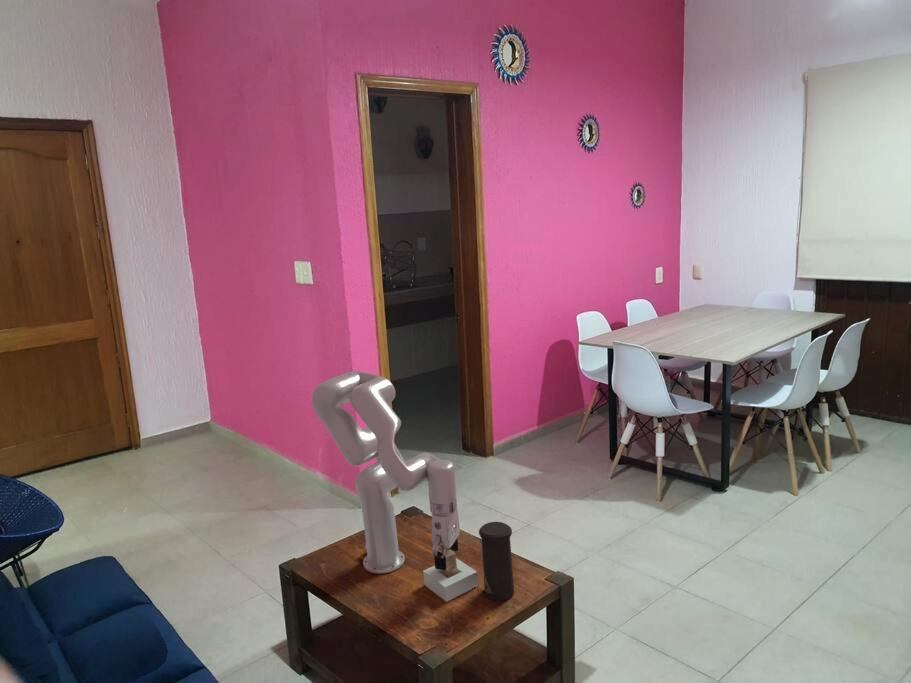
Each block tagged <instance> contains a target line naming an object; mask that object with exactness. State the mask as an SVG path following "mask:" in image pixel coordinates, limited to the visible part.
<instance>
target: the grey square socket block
mask: <svg viewBox="0 0 911 683" xmlns="http://www.w3.org/2000/svg"><path fill="white" fill-rule="evenodd" d="M456 563H457V574H456V575H454V576H452V577H450V578H446V577H445V576H444V575H443V570H440V569H436V568H435V565H433V566H431V567H430V566H429V567H428V568H427V569H424V570H422V573H423V583H424V584H423V585H424V586H425V587H426V588H428V589H429V590H430V591H431V592H433V593H434V594H435V595H436V596H438V597H440V598H441V599H442V600H443V601H445V602H446V603H447V602H449V601H451V600H454V599H455V598H457V597H459V596H461V595H463V594H465V593H467V592H469V591H471V590H473V589H475V588H477V587H478V586H479V582H478V581H479V579H478V578H479V577H478V571H476V570H475V569H474V568H472V567H471V566H469V565H468V564H467V563H464V562H463V561H461V560H460V559H459V558H457V557H456ZM474 587H475V588H474ZM472 588H473V589H472Z"/></svg>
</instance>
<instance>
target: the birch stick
mask: <svg viewBox="0 0 911 683" xmlns="http://www.w3.org/2000/svg"><path fill="white" fill-rule="evenodd" d="M444 556H446V570H443V575H444V576H445V577H446V578H450V577H452V576H454V575H456V574H457V563H456V558H457V554H456V553H455V551H452V550H451V549H449V550H448V549H446V550H445V555H444Z"/></svg>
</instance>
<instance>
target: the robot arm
mask: <svg viewBox="0 0 911 683" xmlns="http://www.w3.org/2000/svg"><path fill="white" fill-rule="evenodd" d="M395 397H396V389H395V386H394V384H393V383H392V382H391V381H390V380H389V379H388V378H386V377H384V376H381V375H379V374H378V375H377V374H374V373H373V374H372V373H369V372H364V371H360V370H352V371H349V372H346V373H343V374H340V375H338V376H335V377H332V378H329V379H327V380H325V381H323V382H321V383H320V384H319V385H317V386H316V387H315V388H314V390H313V392H312V394H311V404H312V405H311V406H312V409H313V410H314V411H313V412H314V413H315V415H316V417H318V419H319V420H320V421H321V423H322V424H323V425H324V427H325V428H326V429H327V430H328V432H329V434H330V435H331V438H332V439H333V440H334V443H335V444H336V446H337V447H338V449H339V451H340V453H341V455H342V456H343V458H344V460H345V461H346V463H347V464H349V466H352V467H360V466H362V465H364V464H366V463H368V462H370V461H372V460H374V459H375V460H376V462H373V464H370V465H369V466H367V467H365V468H364V469H362V470H361V471H360V472H359V473H358V475H356V478H355V482H354V485H355V489H356V493H357V496H358V498H359V502H360V507H361V513H362V521H363V528H364V536H365V545H364V547H365V548H366V552H367V555H366V556H365V557H364V559H363V563H362V564H363V568H364V569H365V571H367V572H369V573H373V574H387V573H391V572H393V571H397V570H398V569H399V568H401V567H402V566H403V565H404V564H405V557H406V556H405V554H404V553H403V552H402V551H401V550H399V542H398V533H397V524H396V514H395V508H394V507H395V506H394V505H393V503H392V501H391V500H390V498H388V493H390V492H392V490H395V489H396V488H398V489H400V490H401V491H403V492H410V491H413V490H414V489H416V488H418V487H419V486H420V485H422V484H424V483H425V482H427V483H428V484H427V486H428V499H429V500H428V502H429V512H430V513H431V538H432V539H431V540H432V548H431V551H432V555H433V558H434V566H435V568H436V569H440V570H446V556H444V555H445V551H446V550H449V549H451V550H452V551H453V552H458V551H459V540H458V537H459V535H460V534H461V527H460V520H459V518H460V517H459V512H458V504H457V503H458V502H457V485H456V483H457V482H456V469H455V468H456V467H455V465H454V463H453V462H452V461H451V460H447V459H441V458H439V457H437V456H435V455H433V454H432V453H429V452H421V453H419V454H416V455H415V456H413V457H411V458H409V459H407V460H405V458H403V455H402V454H401V452H400V451H399V449H398V447H397V445H396V444H395V442H394V441H395V436H396V434H397V433H398V430H400V428H401V425H402V420H401V419H400V417H399V416H398V415H397V414H396V413H395V411H394V410H393V408H392V407H391V406H390V403H392V402H393V400H395ZM349 403H350V405H351V406H352V408H353V409H354V411H355V412H356V413H357V414H358V416H359V417H360V418H361V420H362V421H363V422H364V424H365V425H366V426H367V427H365V428H362V427H361V426H360V425H359V423H358V422H357V421H358V420H356V418H355V417H354V415H353V414H351V413H350V412H349V411H347V410H346V409H343V408H342V405H345V404H349ZM440 544H441V545H440ZM439 549H441V551H440V550H439Z"/></svg>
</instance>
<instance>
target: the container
mask: <svg viewBox="0 0 911 683" xmlns="http://www.w3.org/2000/svg"><path fill="white" fill-rule="evenodd" d="M478 534H479V537H480V539H481V549H482V550H481V551H482V552H481V553H482V567H483V568H482V569H483V584H484V594H485V596H486V597H487V598H488V599H490V600H492V601H496V602H497V601H498V602H501V601H506V600H509V599H511V598H512V597H513V596H514V594H515V583H514V582H515V581H514V572H513V571H514V570H513V560H512V549H511V548H512V547H511V545H512V544H511V536H512V535H513V530H512V527H511V526H509V525H508V524H507V523H505V522H502V521H501V522H500V521H490V522H487V523H485V524H483V525H482V526H481V527H480V528H479V529H478Z"/></svg>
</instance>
